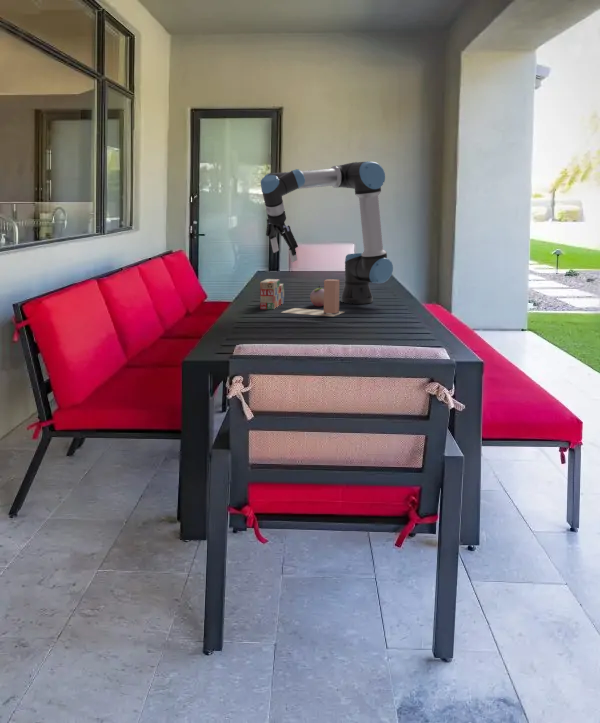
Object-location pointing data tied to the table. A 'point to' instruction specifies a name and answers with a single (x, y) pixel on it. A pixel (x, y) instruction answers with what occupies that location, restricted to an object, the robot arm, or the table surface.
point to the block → (331, 296)
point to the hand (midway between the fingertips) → (285, 256)
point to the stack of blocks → (271, 294)
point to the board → (309, 312)
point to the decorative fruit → (317, 297)
